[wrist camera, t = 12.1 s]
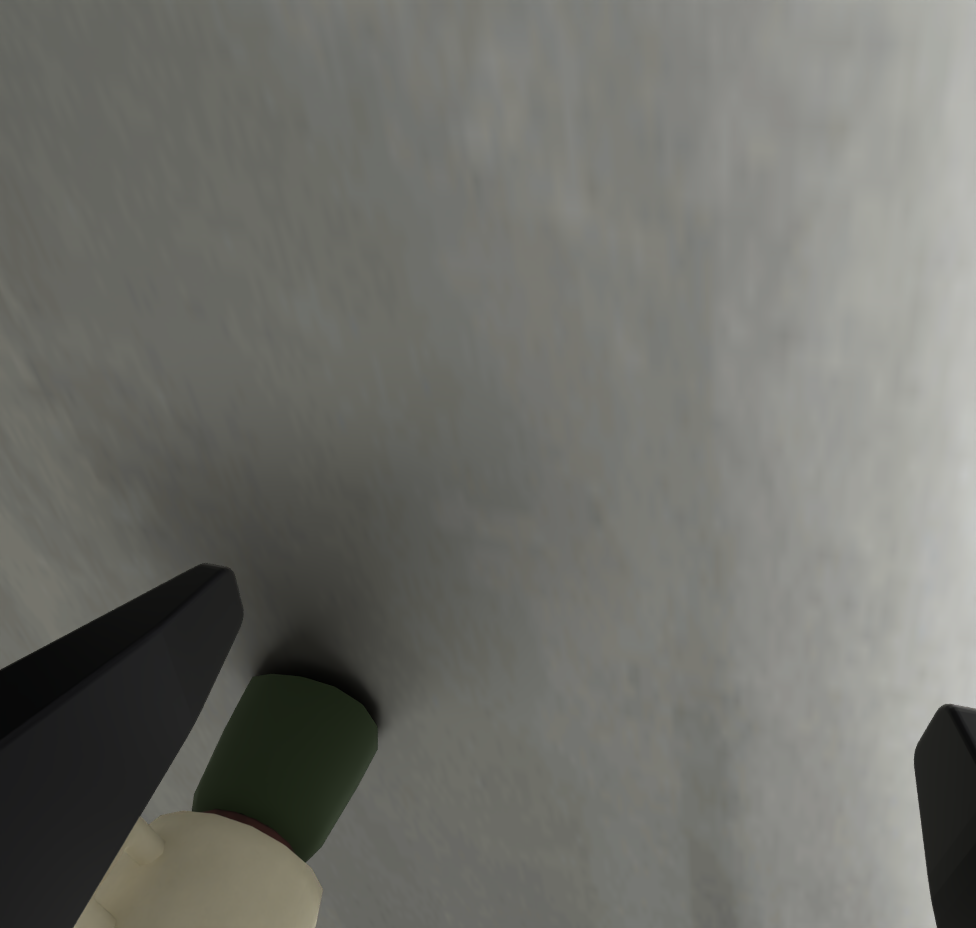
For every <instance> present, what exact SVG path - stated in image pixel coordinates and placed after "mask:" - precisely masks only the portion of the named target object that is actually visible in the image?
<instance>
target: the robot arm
mask: <svg viewBox="0 0 976 928" xmlns="http://www.w3.org/2000/svg"><path fill="white" fill-rule="evenodd" d="M242 620H243V605H242V601H241V597H240V593H239V590H238V586H237V582H236V578H235V574H234V572H233V571H232V570H231V569H230V568H228V567H224V566H219V565H214V564H208V563H204V564H200V565H197V566H195V567H193V568H191V569H190V570H188V571H186V572H184V573H182V574H180V575H178V576H176V577H174V578H173V579H171V580H169V581H167V582H165V583H163V584H161V585H159V586H157V587H156V588H154V589H152V590H150V591H148V592H146V593H144V594H142V595H140V596H139V597H137V598H135V599H133V600H131V601H129V602H127V603H125V604H123V605H122V606H120V607H118V608H116V609H114V610H112V611H110V612H108V613H106V614H105V615H103V616H101V617H99V618H97V619H95V620H93V621H91V622H89V623H88V624H86V625H84V626H82V627H80V628H78V629H76V630H74V631H72V632H71V633H69V634H67V635H65V636H63V637H61V638H59V639H57V640H55V641H54V642H52V643H50V644H48V645H46V646H44V647H42V648H40V649H39V650H37V651H35V652H33V653H31V654H29V655H27V656H25V657H23V658H22V659H20V660H18V661H16V662H14V663H12V664H10V665H8V666H6V667H5V668H3V669H1V670H0V928H74V926H75V924H76V923H77V921H78V919H79V917H80V916H81V914H82V912H83V911H84V909H85V907H86V906H87V904H88V902H89V901H90V899H91V897H92V896H93V894H94V892H95V891H96V889H97V887H98V886H99V884H100V882H101V881H102V879H103V877H104V876H105V874H106V872H107V871H108V869H109V867H110V866H111V864H112V862H113V861H114V859H115V857H116V856H117V854H118V852H119V851H120V849H121V847H122V846H123V844H124V842H125V840H126V839H127V837H128V835H129V834H130V832H131V830H132V829H133V827H134V825H135V824H136V822H137V820H138V819H139V817H140V815H141V814H142V812H143V810H144V809H145V807H146V805H147V804H148V802H149V800H150V799H151V797H152V795H153V794H154V792H155V790H156V789H157V787H158V785H159V784H160V782H161V780H162V779H163V777H164V775H165V774H166V772H167V770H168V769H169V767H170V765H171V763H172V762H173V760H174V758H175V757H176V755H177V753H178V752H179V750H180V748H181V747H182V745H183V743H184V742H185V740H186V738H187V737H188V735H189V733H190V731H191V729H192V728H193V726H194V724H195V722H196V720H197V718H198V716H199V714H200V712H201V710H202V708H203V706H204V704H205V702H206V700H207V698H208V696H209V693H210V691H211V689H212V687H213V685H214V683H215V681H216V678H217V676H218V674H219V672H220V670H221V668H222V666H223V663H224V661H225V659H226V657H227V655H228V653H229V651H230V648H231V646H232V644H233V642H234V640H235V638H236V636H237V633H238V631H239V629H240V627H241V624H242ZM914 769H915V777H916V785H917V793H918V801H919V810H920V818H921V826H922V834H923V842H924V850H925V859H926V867H927V875H928V882H929V889H930V895H931V901H932V906H933V911H934V916H935V920H936V925H937V928H976V709H975V708H970V707H964V706H959V705H954V704H945V705H943V706H941V707H940V708H939V709H938V710H937V712H936V713H935V715H934V717H933V718H932V720H931V722H930V723H929V725H928V727H927V728H926V730H925V732H924V734H923V735H922V737H921V739H920V740H919V742H918V744H917V746H916V749H915V754H914Z"/></svg>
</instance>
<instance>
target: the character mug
mask: <svg viewBox="0 0 976 928" xmlns="http://www.w3.org/2000/svg"><path fill="white" fill-rule="evenodd" d="M377 749H378V727H377V725H376V724H375V722H374V721H373V719H372V718H371V716H370V715H369V713H368V712H367V710H366V709H365V707H364V706H363V705H362V704H361V703H359V702H358V701H356V700H355V699H353V698H352V697H350V696H348V695H347V694H345V693H344V692H342V691H341V690H339V689H337V688H336V687H333V686H330V685H327V684H324V683H321V682H317V681H314V680H311V679H308V678H305V677H301V676H290V675H279V674H267V675H261V676H255V677H252V679H251V681H250V683H249V685H248V686H247V688H246V690H245V692H244V693H243V695H242V697H241V699H240V701H239V703H238V705H237V707H236V708H235V710H234V712H233V714H232V716H231V718H230V720H229V722H228V724H227V725H226V727H225V729H224V731H223V733H222V735H221V737H220V740H219V742H218V744H217V746H216V748H215V750H214V752H213V755H212V757H211V759H210V761H209V763H208V765H207V768H206V770H205V772H204V774H203V776H202V778H201V780H200V783H199V785H198V787H197V789H196V791H195V793H194V798H193V806H192V812H191V811H179V812H174V813H169V814H165V815H161V816H159V817H158V818H157V819H155V820H154V821H153V822H151V823H150V824H149V825H148V824H147V823H146V822H145V821H144V820H143V818H142V817H139V819H138V820H137V822H136V824H135V825H134V827H133V829H132V830H131V832H130V834H129V835H128V837H127V839H126V840H125V842H124V844H123V846H122V847H121V849H120V851H119V852H118V854H117V856H116V857H115V859H114V861H113V862H112V864H111V866H110V867H109V869H108V871H107V872H106V874H105V876H104V877H103V879H102V881H101V882H100V884H99V886H98V887H97V889H96V891H95V892H94V894H93V896H92V897H91V899H90V901H89V902H88V904H87V906H86V907H85V909H84V911H83V912H82V914H81V916H80V917H79V919H78V921H77V923H76V924H75V926H74V928H315V926H316V922H317V917H318V912H319V907H320V902H321V897H322V892H323V889H322V887H321V885H320V883H319V881H318V879H317V877H316V876H315V874H314V872H313V870H312V868H311V867H309V866H308V865H307V864H306V862H307V861H308V860H309V859H310V858H311V857H312V856H313V855H314V854H315V853H316V852H317V851H318V850H319V849H320V848H321V847H322V845H323V844H324V842H325V840H326V839H327V837H328V835H329V834H330V832H331V830H332V829H333V827H334V825H335V824H336V822H337V820H338V819H339V817H340V815H341V814H342V812H343V810H344V809H345V807H346V805H347V804H348V802H349V800H350V798H351V797H352V795H353V793H354V792H355V790H356V788H357V787H358V785H359V783H360V781H361V779H362V778H363V776H364V774H365V772H366V770H367V768H368V766H369V764H370V763H371V761H372V759H373V757H374V755H375V753H376V751H377Z"/></svg>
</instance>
